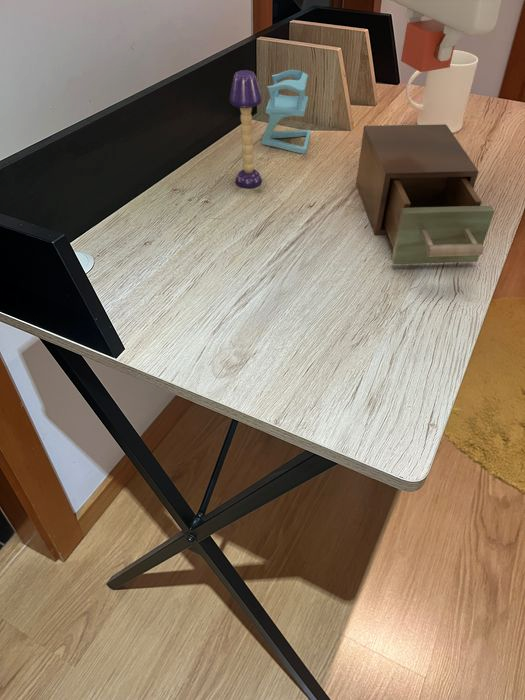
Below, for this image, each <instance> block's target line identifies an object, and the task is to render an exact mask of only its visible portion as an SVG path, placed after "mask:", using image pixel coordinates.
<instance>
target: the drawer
mask: <svg viewBox="0 0 525 700" xmlns="http://www.w3.org/2000/svg"><path fill="white" fill-rule="evenodd" d="M495 211H496V210H495V209H494V207H493V206H492V205H482V200H481V198H480V197H479V195H478V194H477V192H476V191H475V189H474V188H472V186H471V184H470V183H469V181H468V180H467V178H466V177H429V178H390V183H389V188H388V194H387V199H386V204H385V210H384V215H383V220H382V221H383V224H384V226H385V229H386V231H387V236H388V239H389V241H390V243H391V246H392V248H393V249H392V254H391V262H392V265H417V264H418V265H419V264H420V265H421V264H451V263H453V264H455V263H477V262H478V260H479V258H480V256H482V255H483V253H484V243H485V240H486V237H487V234H488V232H489V228H490V226H491V223H492V220H493V217H494V214H495Z"/></svg>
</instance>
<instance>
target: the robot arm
mask: <svg viewBox="0 0 525 700" xmlns="http://www.w3.org/2000/svg"><path fill="white" fill-rule="evenodd" d="M390 1H391V2H393V3H395V4H398V5H400V6H402V7H404V8H406V14H405V19H406V24H407V23H411V22H418V21H422V18H423V17H427V18H429V19H430V20H435V21H438V22H440V23H442V24H444V25H445V26H444V31H443V33H444V34H446V35H445V37H444V39H443V41H442V42H441V44H437V45H436V47H435V53H434V57H435V58H436V59H438V60H440V61H446V60H449V59H450V57H451V52H452V48H453V46H454V45H455V46H456V45H457V43H458V41H459V39H460V38H461V37H462V36H463V34H464V35H466V36H469V37H477V36H483V35H487V34H490V33H491V31H492V30H494V28H495V27H496V25H497V22H498V19H499V14H500V9H501V3H502V0H390ZM455 46H454V47H455Z"/></svg>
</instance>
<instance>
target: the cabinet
mask: <svg viewBox="0 0 525 700" xmlns="http://www.w3.org/2000/svg"><path fill="white" fill-rule="evenodd" d="M478 175H479V169H478V168H477V167H476V165H475V164H474V162H473V161H472V159H471V158H470V156H469V155H468V153H467V152H466V150H465V149H464V148H463V146H462V145H461V143H460V142H459V140H458V139H457V137H456V136H455V134H454V133H452V132H451V131H450V129H449V128H448V126H447V125H446V124H443V125H418V124H395V125H394V124H393V125H392V124H391V125H389V124H388V125H387V124H386V125H363V131H362V138H361V145H360V152H359V160H358V166H357V174H356V180H355V186H356V188H357V191H358V194H359V197H360V200H361V202H362V204H363V208H364V210H365V213H366V216H367V218H368V221H369V223H370V226H371V229H372V232H373V234H374V236H379V235H380V236H381V235H382V236H384V235H387V236H388V234H387V231H386V229H385V226H384V224H383V221H382V220H383V215H384V210H385V204H386V199H387V194H388V188H389V183H390V178H429V177H466V178H467V180H468V181H469V183H470V184H471V186H472V188H473V189H474V188H475V185H476V181H477V179H478Z"/></svg>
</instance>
